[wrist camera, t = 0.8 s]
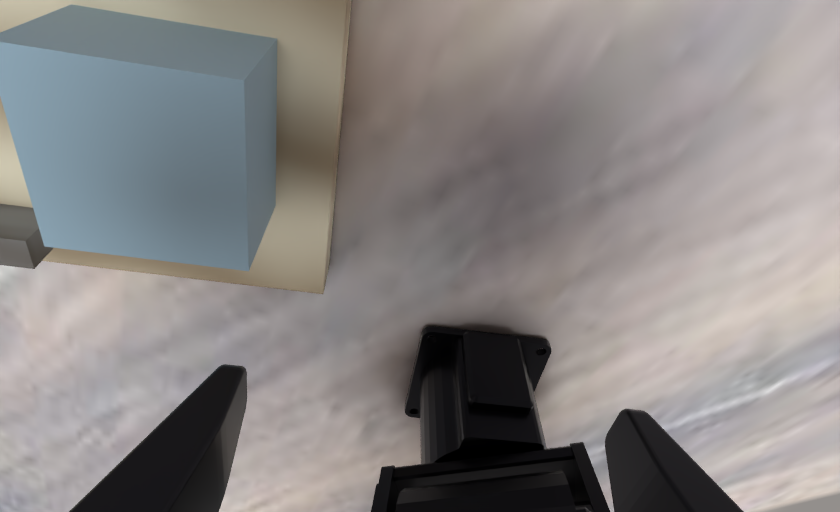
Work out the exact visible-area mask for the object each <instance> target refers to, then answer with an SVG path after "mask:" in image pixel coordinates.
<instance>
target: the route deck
mask: <svg viewBox="0 0 840 512" xmlns="http://www.w3.org/2000/svg"><path fill="white" fill-rule="evenodd" d="M351 1H352V0H0V32H3V31H5V30H8V29H10V28H13V27H15V26H18V25H21V24H23V23H26V22H28V21H31V20H33V19H36V18H38V17H41V16H43V15H46V14H48V13H51V12H53V11H56V10H58V9H61V8H63V7H66V6H68V5H71V4H72V5H78V6H84V7H90V8H96V9H102V10H108V11H114V12H120V13H126V14H132V15H138V16H144V17H150V18H156V19H162V20H168V21H174V22H180V23H186V24H192V25H198V26H204V27H210V28H216V29H222V30H228V31H234V32H240V33H246V34H252V35H258V36H264V37H270V38H276V39H277V116H276V206H275V208H274V211H273V213H272V216H271V218H270V221H269V223H268V226H267V228H266V230H265V233H264V235H263V238H262V240H261V243H260V245H259V248H258V250H257V253H256V255H255V257H254V260H253V262H252V265H251V267H250V270H249V271H242V270H234V269H226V268H218V267H209V266H201V265H193V264H185V263H177V262H168V261H160V260H152V259H144V258H135V257H127V256H119V255H111V254H102V253H94V252H86V251H78V250H69V249H61V248H53V247H45V246H44V243H43V240H42V237H41V233H40V230H39V226H38V223H37V220H36V216H35V213H34V209H33V206H32V203H31V199H30V196H29V192H28V189H27V186H26V182H25V179H24V175H23V172H22V169H21V165H20V162H19V159H18V155H17V152H16V148H15V145H14V142H13V138H12V135H11V131H10V128H9V125H8V121H7V118H6V114H5V111H4V108H3V104H2V101H1V97H0V265H6V266H15V267H23V268H32V269H35V267H36V266H37V265H38V264H39V263H40V262H41V261H49V262H57V263H66V264H74V265H82V266H91V267H99V268H108V269H116V270H125V271H133V272H141V273H150V274H158V275H167V276H175V277H183V278H192V279H200V280H209V281H217V282H226V283H234V284H242V285H251V286H259V287H268V288H276V289H284V290H293V291H301V292H310V293H318V294H323V293H324V288H325V283H326V278H327V274H328V269H329V262H330V251H331V239H332V227H333V215H334V203H335V191H336V179H337V167H338V156H339V144H340V132H341V120H342V108H343V96H344V84H345V72H346V61H347V49H348V37H349V25H350V13H351Z"/></svg>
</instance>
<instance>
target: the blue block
mask: <svg viewBox="0 0 840 512" xmlns="http://www.w3.org/2000/svg"><path fill="white" fill-rule="evenodd" d="M0 97H1V101H2V104H3V108H4V111H5V114H6V118H7V121H8V125H9V128H10V131H11V135H12V138H13V142H14V145H15V148H16V152H17V155H18V159H19V162H20V165H21V169H22V172H23V175H24V179H25V182H26V186H27V189H28V192H29V196H30V199H31V203H32V206H33V209H34V213H35V216H36V220H37V223H38V226H39V230H40V233H41V237H42V240H43V243H44V246H45V247H53V248H61V249H69V250H78V251H86V252H94V253H102V254H111V255H119V256H127V257H135V258H144V259H152V260H160V261H168V262H177V263H185V264H193V265H201V266H209V267H218V268H226V269H234V270H242V271H249V270H250V267H251V265H252V262H253V260H254V257H255V255H256V253H257V250H258V248H259V245H260V243H261V240H262V238H263V235H264V233H265V230H266V228H267V226H268V223H269V221H270V218H271V216H272V213H273V211H274V208H275V206H276V116H277V39H276V38H270V37H264V36H258V35H252V34H246V33H240V32H234V31H228V30H222V29H216V28H210V27H204V26H198V25H192V24H186V23H180V22H174V21H168V20H162V19H156V18H150V17H144V16H138V15H132V14H126V13H120V12H114V11H108V10H102V9H96V8H90V7H84V6H78V5H72V4H71V5H68V6H66V7H63V8H61V9H58V10H56V11H53V12H51V13H48V14H46V15H43V16H41V17H38V18H36V19H33V20H31V21H28V22H26V23H23V24H21V25H18V26H15V27H13V28H10V29H8V30H5V31H3V32H0Z"/></svg>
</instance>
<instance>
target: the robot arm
mask: <svg viewBox="0 0 840 512" xmlns="http://www.w3.org/2000/svg"><path fill="white" fill-rule="evenodd" d="M429 336H435V337H429ZM540 348H543V349H540ZM538 349H539V350H538ZM550 354H551V347H550V344H549V342H548V341H547V340H545V339H540V338H531V337H523V336H514V335H505V334H497V333H488V332H479V331H470V330H462V329H453V328H444V327H436V326H429V327H426V328H425V329H424V330H423V331H422V333H421V338H420V342H419V346H418V351H417V355H416V359H415V364H414V368H413V372H412V377H411V381H410V385H409V390H408V394H407V398H406V403H405V413H406V415H408V416H409V417H415V418H420V430H421V464H420V465H412V466H403V467H395V466H386V467H382V468H381V474H380V479H379V484H377V485H376V489H375V494H374V499H373V505H372V510H371V512H610V510H609V508H608V505H607V503H606V500H605V497H604V495H603V492H602V490H601V487H600V485H599V482H598V479H597V477H596V474H595V472H594V469H593V467H592V464H591V461H590V459H589V456H588V454H587V451H586V449H585V446H584V443H583V442H580V443H572V444H570V446H566V447H558V448H550V449H547V448H546V444H545V439H544V435H543V431H542V426H541V422H540V418H539V413H538V409H537V405H536V400H535V396H534V391H535V388H536V386H537V384H538V381H539V379H540V377H541V375H542V372H543V370H544V368H545V365H546V363H547V361H548V359H549V356H550ZM246 403H247V372H246V369H245V368H244V367H243V366H235V365H221V366H220V367H218V368H217V369H216V370H215V371H214V372H213V373H212V374H211V375H210V376H209V377H208V378H207V379H206V380H205V381H204V382H203V383H202V384H201V385H200V386H199V387H198V388H197V389H196V390H195V391H194V392H193V393H191V394H190V395H189V396H188V397H187V398H186V399H185V400H184V401H183V402H182V403H181V404H180V405H179V406H178V407H177V408H176V409H175V410H174V411H173V412H172V413H171V414H170V415H169V416H168V417H167V418H166V419H165V420H164V421H163V422H161V423H160V424H159V425H158V426H157V427H156V428H155V429H154V430H153V431H152V432H151V433H150V434H149V435H148V436H147V437H146V438H145V439H144V440H143V441H142V442H141V443H140V444H139V445H138V446H137V447H136V448H135V449H134V450H132V451H131V452H130V453H129V454H128V455H127V456H126V457H125V458H124V459H123V460H122V461H121V462H120V463H119V464H118V465H117V466H116V467H115V468H114V469H113V470H112V471H111V472H110V473H109V474H108V475H107V476H106V477H105V478H104V479H102V480H101V481H100V482H99V483H98V484H97V485H96V486H95V487H94V488H93V489H92V490H91V491H90V492H89V493H88V494H87V495H86V496H85V497H84V498H83V499H82V500H81V501H80V502H79V503H78V504H77V505H76V506H75V507H74V508H72V509H71V510H70V511H69V512H219V509H220V506H221V503H222V500H223V497H224V494H225V491H226V487H227V483H228V480H229V476H230V472H231V467H232V463H233V459H234V455H235V451H236V447H237V442H238V438H239V434H240V430H241V426H242V422H243V417H244V413H245V409H246ZM605 450H606V456H607V463H608V470H609V477H610V484H611V491H612V498H613V505H614V512H743V511H742V510H741V509H740V507H739V506H738V505H737V504H736V503H735V502H734V501H733V500H732V499H731V498H730V497H729V496H728V495H727V494H726V493H725V492H724V491H723V490H722V489H721V488H720V487H719V486H718V485H717V484H716V483H715V482H714V481H713V480H712V479H711V478H710V477H709V476H708V475H707V474H706V473H705V471H704V470H703V469H702V468H701V467H700V466H699V465H698V464H697V463H696V462H695V461H694V460H693V459H692V458H691V457H690V456H689V455H688V454H687V453H686V452H685V451H684V450H683V449H682V448H681V447H680V446H679V445H678V444H677V443H676V442H675V441H674V440H673V439H672V438H671V437H670V436H669V434H668V433H667V432H666V431H665V430H664V429H663V428H662V427H661V426H660V425H659V424H658V423H657V422H656V421H655V420H654V419H653V418H652V417H651V416H650V415H649V414H648V413H646V412H645V411H641V410H633V409H624V410H622V411H621V412H620V413H619V415H618V417H617V418H616V420H615V422H614V423H613V425H612V427H611V428H610V430H609V431H608V433H607V436H606V439H605Z"/></svg>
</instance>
